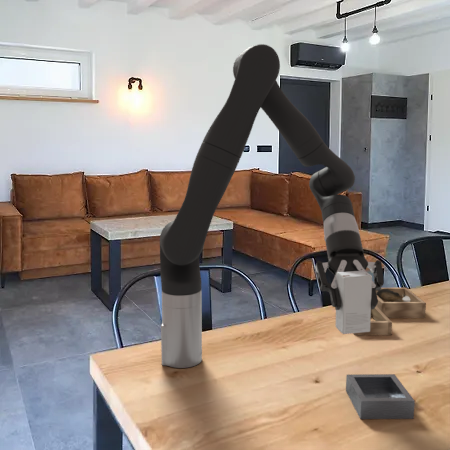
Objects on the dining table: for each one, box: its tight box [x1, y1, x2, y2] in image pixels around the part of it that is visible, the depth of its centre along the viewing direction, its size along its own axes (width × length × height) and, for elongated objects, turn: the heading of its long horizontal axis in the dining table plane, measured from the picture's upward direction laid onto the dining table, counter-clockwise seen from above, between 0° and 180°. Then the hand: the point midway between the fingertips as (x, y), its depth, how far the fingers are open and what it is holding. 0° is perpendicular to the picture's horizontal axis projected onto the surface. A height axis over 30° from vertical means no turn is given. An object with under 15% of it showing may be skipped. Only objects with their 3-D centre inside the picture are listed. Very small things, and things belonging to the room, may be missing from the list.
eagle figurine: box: [376, 289, 410, 302], centre depth 157 cm, size 8×7×9 cm
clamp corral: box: [352, 306, 393, 336], centre depth 146 cm, size 10×17×4 cm, turn 1°
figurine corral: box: [376, 287, 427, 319], centre depth 158 cm, size 13×16×4 cm
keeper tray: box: [345, 373, 416, 420], centre depth 101 cm, size 10×11×4 cm
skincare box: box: [335, 270, 373, 335], centre depth 104 cm, size 6×4×12 cm
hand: (355, 307), depth 102 cm, fingers closed on skincare box, 6 cm apart
